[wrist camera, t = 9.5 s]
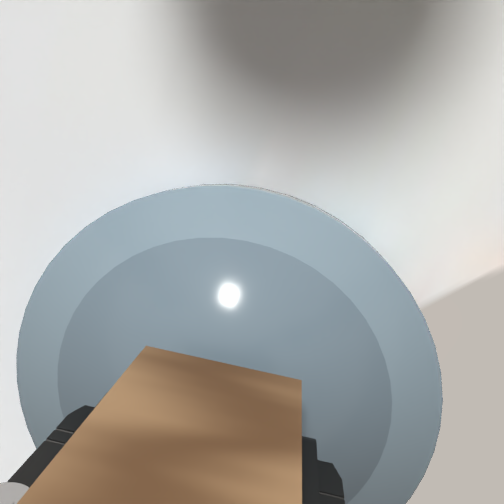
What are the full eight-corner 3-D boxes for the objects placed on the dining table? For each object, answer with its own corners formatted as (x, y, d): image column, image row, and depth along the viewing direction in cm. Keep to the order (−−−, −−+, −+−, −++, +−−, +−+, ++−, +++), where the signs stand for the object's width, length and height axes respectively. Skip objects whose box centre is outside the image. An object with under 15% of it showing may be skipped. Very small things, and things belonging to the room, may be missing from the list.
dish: (486, 230, 13) (505, 238, 11) (373, 584, 16) (379, 619, 15) (49, 147, 14) (24, 146, 12) (29, 497, 17) (8, 523, 16)
